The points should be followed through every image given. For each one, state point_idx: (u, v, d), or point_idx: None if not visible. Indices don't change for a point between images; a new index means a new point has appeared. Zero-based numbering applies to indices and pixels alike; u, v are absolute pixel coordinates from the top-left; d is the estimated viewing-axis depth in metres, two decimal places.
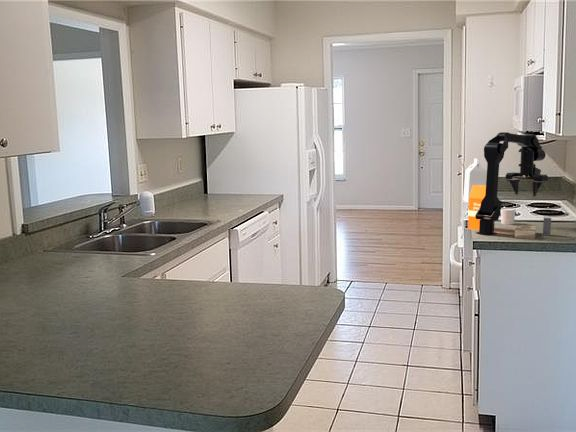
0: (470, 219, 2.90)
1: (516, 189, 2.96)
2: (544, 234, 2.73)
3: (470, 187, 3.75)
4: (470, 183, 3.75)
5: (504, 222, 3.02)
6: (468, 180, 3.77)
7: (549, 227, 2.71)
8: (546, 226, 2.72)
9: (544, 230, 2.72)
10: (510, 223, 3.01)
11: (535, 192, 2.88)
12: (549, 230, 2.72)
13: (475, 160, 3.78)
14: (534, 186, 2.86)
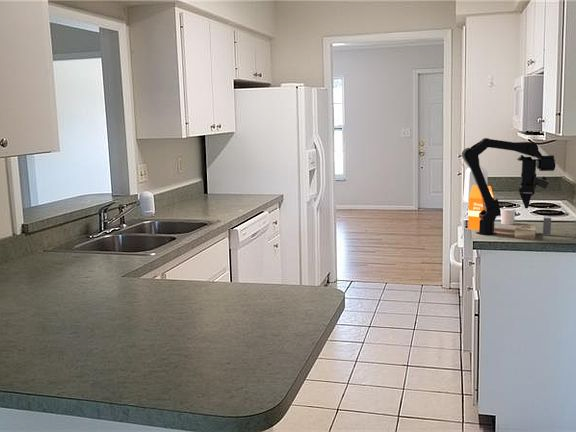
0: (470, 219, 2.90)
1: None
2: (544, 234, 2.73)
3: (470, 187, 3.75)
4: (470, 183, 3.75)
5: (504, 222, 3.02)
6: (468, 180, 3.77)
7: (549, 227, 2.71)
8: (546, 226, 2.72)
9: (544, 230, 2.72)
10: (510, 223, 3.01)
11: (525, 204, 2.70)
12: (549, 230, 2.72)
13: None
14: (521, 197, 2.70)
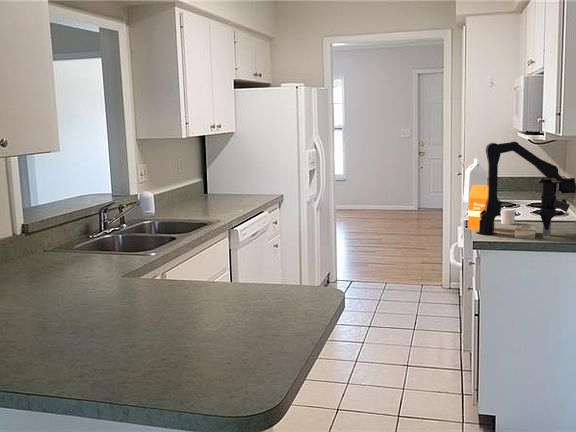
0: (470, 219, 2.90)
1: None
2: (544, 234, 2.73)
3: (470, 187, 3.75)
4: (470, 183, 3.75)
5: (504, 222, 3.02)
6: (468, 180, 3.77)
7: (549, 227, 2.71)
8: None
9: (544, 230, 2.72)
10: (510, 223, 3.01)
11: (545, 225, 2.71)
12: (549, 230, 2.72)
13: (475, 160, 3.78)
14: None
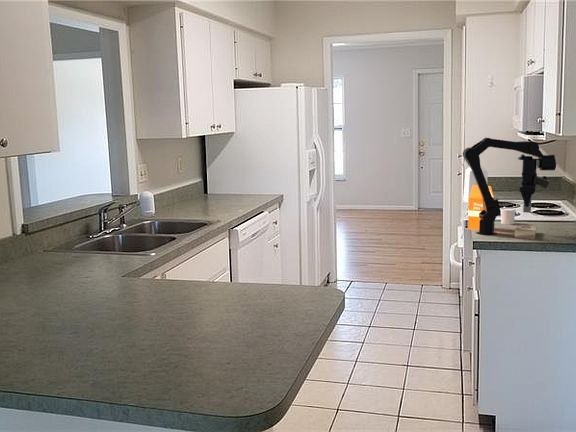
0: (470, 219, 2.90)
1: None
2: (524, 211, 2.74)
3: (470, 187, 3.75)
4: (470, 183, 3.75)
5: (504, 222, 3.02)
6: (468, 180, 3.77)
7: (529, 204, 2.73)
8: None
9: (524, 207, 2.74)
10: (510, 223, 3.01)
11: (525, 202, 2.73)
12: (529, 207, 2.73)
13: None
14: None
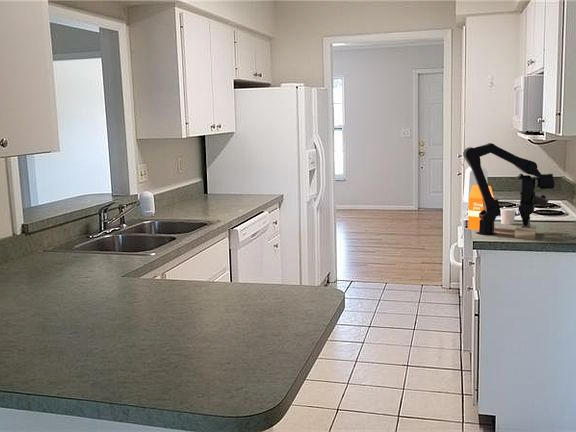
0: (470, 219, 2.90)
1: None
2: None
3: (470, 187, 3.75)
4: (470, 183, 3.75)
5: (504, 222, 3.02)
6: (468, 180, 3.77)
7: (528, 226, 2.75)
8: None
9: None
10: (510, 223, 3.01)
11: (524, 221, 2.73)
12: None
13: None
14: None
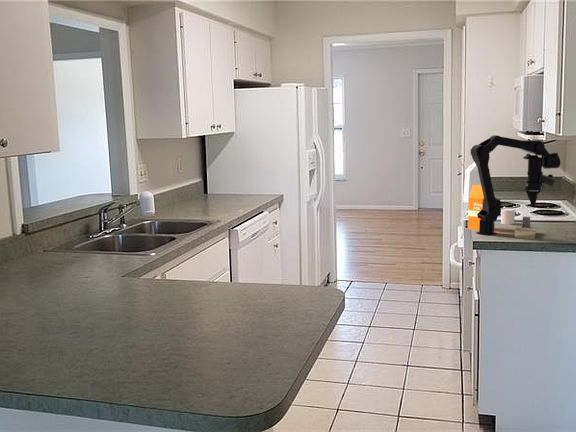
0: (470, 219, 2.90)
1: None
2: None
3: (470, 187, 3.75)
4: (470, 183, 3.75)
5: (504, 222, 3.02)
6: (468, 180, 3.77)
7: (528, 226, 2.75)
8: (525, 224, 2.75)
9: None
10: (510, 223, 3.01)
11: (531, 201, 2.74)
12: None
13: None
14: None
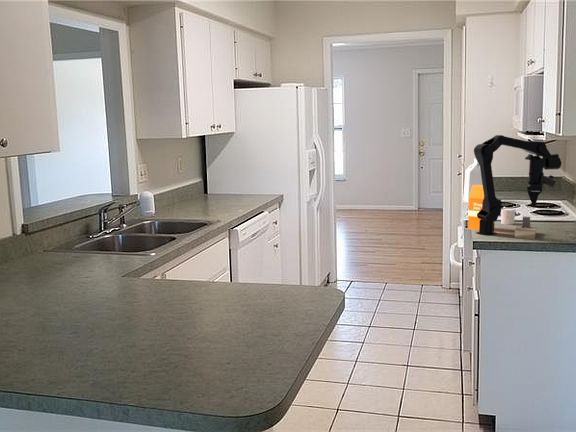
0: (470, 219, 2.90)
1: None
2: None
3: (470, 187, 3.75)
4: (470, 183, 3.75)
5: (504, 222, 3.02)
6: (468, 180, 3.77)
7: (528, 226, 2.75)
8: (525, 224, 2.75)
9: None
10: (510, 223, 3.01)
11: (533, 202, 2.76)
12: None
13: (475, 160, 3.78)
14: (529, 195, 2.75)
